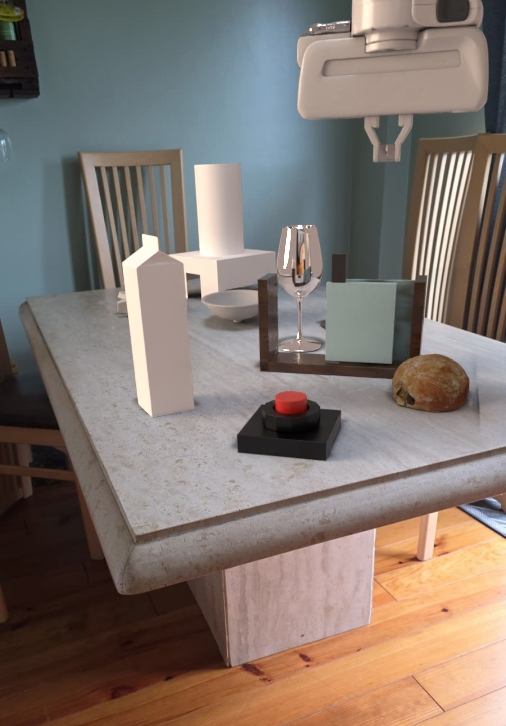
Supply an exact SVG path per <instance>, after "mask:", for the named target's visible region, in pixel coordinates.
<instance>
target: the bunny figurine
mask: <svg viewBox="0 0 506 726" xmlns="http://www.w3.org/2000/svg"><path fill="white" fill-rule="evenodd" d="M117 298H118V299H120V300H118V301H116V307H117V312H118V313H120V314H121V313H122V314H128V310H127V301H126V292H125V290H120V291H118V294H117Z"/></svg>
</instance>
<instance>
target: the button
mask: <svg viewBox="0 0 506 726" xmlns="http://www.w3.org/2000/svg"><path fill="white" fill-rule="evenodd" d="M307 399H308V395H307V394H306V393H305V392H301V391H298V390H297V391H296V390H295V391H294V390H286V391H282V392H281V391H280V392H279V393H276V394H275V396H274V400H275V411H276V412H279V413H282V414H298V413H303V412H305V411H307Z"/></svg>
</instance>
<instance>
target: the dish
mask: <svg viewBox="0 0 506 726" xmlns="http://www.w3.org/2000/svg"><path fill="white" fill-rule="evenodd" d="M200 301H201V303H203V305H205V306H206V307H207V308H208V310H210V312H212V314H214V315H215V316H216V317H218V318H221V319H223V320H227V321H229V320H230V321H233V323H242V322H243V320H248V319H251V318H253V317H256V316H258V290H256V289H255V290H254V289H228V290H225V291H220V292H215V293H211V294H208V295H206V296H204V297H203V298H202V297H201V300H200Z"/></svg>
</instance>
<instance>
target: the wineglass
mask: <svg viewBox="0 0 506 726" xmlns="http://www.w3.org/2000/svg"><path fill="white" fill-rule="evenodd" d="M278 244H279V245H278V251H277V256H276V273H277V283H278V285H279V286H280V288H281V289H282V290H283V292H285V293H286V294H287V295H289V296H291V297H293V298H295V301H296V306H297V335H296V336H295V338H294V339H290V340H285V341H282V342H280V343H278V349H280V351H281V350H282V351H283V352H289V353H309V352H314V351H317V350H319V349H320V348H322V343H321V342H319V341H316V340H312V339H306V338H305V337H304V336H303V302H304V299H305V297H308V296H310V295H311V294H313V293H314V292H315V290H317V289H318V288H319V286H320V285H321V284H322V283H321V282H322V280H323V275H324V263H323V262H324V261H323V254H322V248H321V242H320V237H319V231H318V228H317V225H312V224H311V225H310V224H297V225H286V226H285V225H284V226H282V231H281V235H280V240H279V243H278Z"/></svg>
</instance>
